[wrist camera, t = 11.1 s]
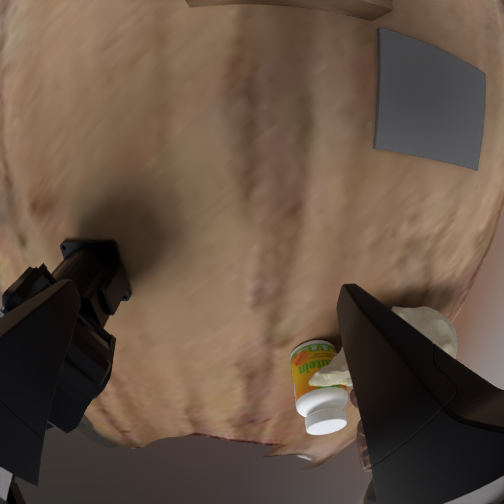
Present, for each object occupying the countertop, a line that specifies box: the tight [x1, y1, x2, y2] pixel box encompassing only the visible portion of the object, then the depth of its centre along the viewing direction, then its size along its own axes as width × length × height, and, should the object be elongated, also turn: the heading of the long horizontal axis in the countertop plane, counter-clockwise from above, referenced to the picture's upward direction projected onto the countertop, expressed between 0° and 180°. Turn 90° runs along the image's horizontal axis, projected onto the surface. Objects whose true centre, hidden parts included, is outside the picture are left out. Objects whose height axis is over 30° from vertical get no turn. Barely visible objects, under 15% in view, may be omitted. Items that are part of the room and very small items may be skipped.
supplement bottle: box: [290, 340, 348, 435], centre depth 25 cm, size 5×5×10 cm
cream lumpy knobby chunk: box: [309, 306, 457, 386], centre depth 25 cm, size 15×7×15 cm
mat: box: [373, 27, 486, 171], centre depth 15 cm, size 12×10×1 cm
